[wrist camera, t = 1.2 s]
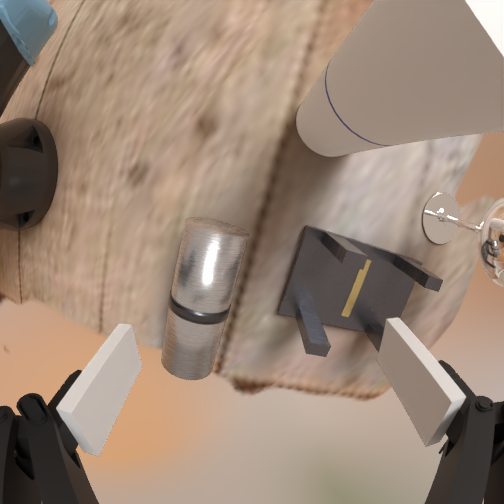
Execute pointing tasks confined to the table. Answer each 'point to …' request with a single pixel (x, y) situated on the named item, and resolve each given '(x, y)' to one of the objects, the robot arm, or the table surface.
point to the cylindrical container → (409, 77)
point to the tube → (201, 295)
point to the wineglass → (489, 231)
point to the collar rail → (348, 287)
